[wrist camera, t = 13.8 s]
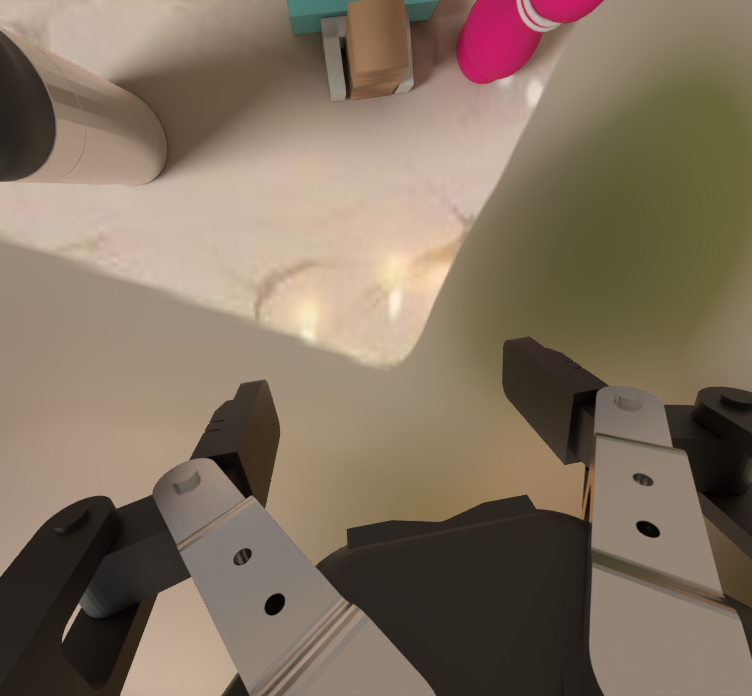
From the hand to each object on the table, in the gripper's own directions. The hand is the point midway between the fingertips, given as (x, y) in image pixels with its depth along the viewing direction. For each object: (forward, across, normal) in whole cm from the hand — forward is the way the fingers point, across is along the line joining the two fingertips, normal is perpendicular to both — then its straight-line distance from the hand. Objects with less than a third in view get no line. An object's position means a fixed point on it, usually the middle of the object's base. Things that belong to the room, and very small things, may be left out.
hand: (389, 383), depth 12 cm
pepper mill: (+36, -18, -18) cm, 44 cm away
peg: (+36, -5, -17) cm, 40 cm away
